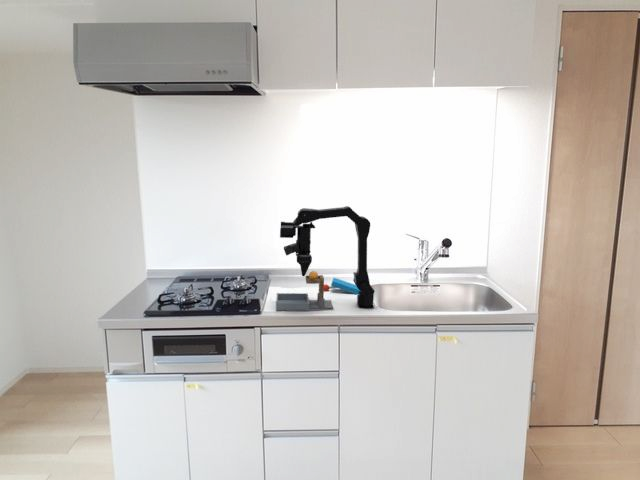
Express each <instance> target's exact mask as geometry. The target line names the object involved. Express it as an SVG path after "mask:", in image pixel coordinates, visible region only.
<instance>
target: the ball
mask: <svg viewBox="0 0 640 480" xmlns="http://www.w3.org/2000/svg"><path fill="white" fill-rule="evenodd" d="M308 275H309V278H310V279H317V278H318V276H319V275H318V272H317V271H314V270H311V271H310V272H309V274H308Z"/></svg>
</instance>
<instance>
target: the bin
mask: <svg viewBox="0 0 640 480" xmlns="http://www.w3.org/2000/svg"><path fill="white" fill-rule="evenodd" d="M275 300H276V304H275V305H276V307H275V308H276V309H275V310H276V312H310V306H309V300H310V298H309V293H307V292H306V293H305V292H304V293H303V292H302V293H300V292H299V293H291V292H290V293H289V292H288V293H285V292H284V293H281V292H280V293H279V292H278V293H276V299H275Z"/></svg>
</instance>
